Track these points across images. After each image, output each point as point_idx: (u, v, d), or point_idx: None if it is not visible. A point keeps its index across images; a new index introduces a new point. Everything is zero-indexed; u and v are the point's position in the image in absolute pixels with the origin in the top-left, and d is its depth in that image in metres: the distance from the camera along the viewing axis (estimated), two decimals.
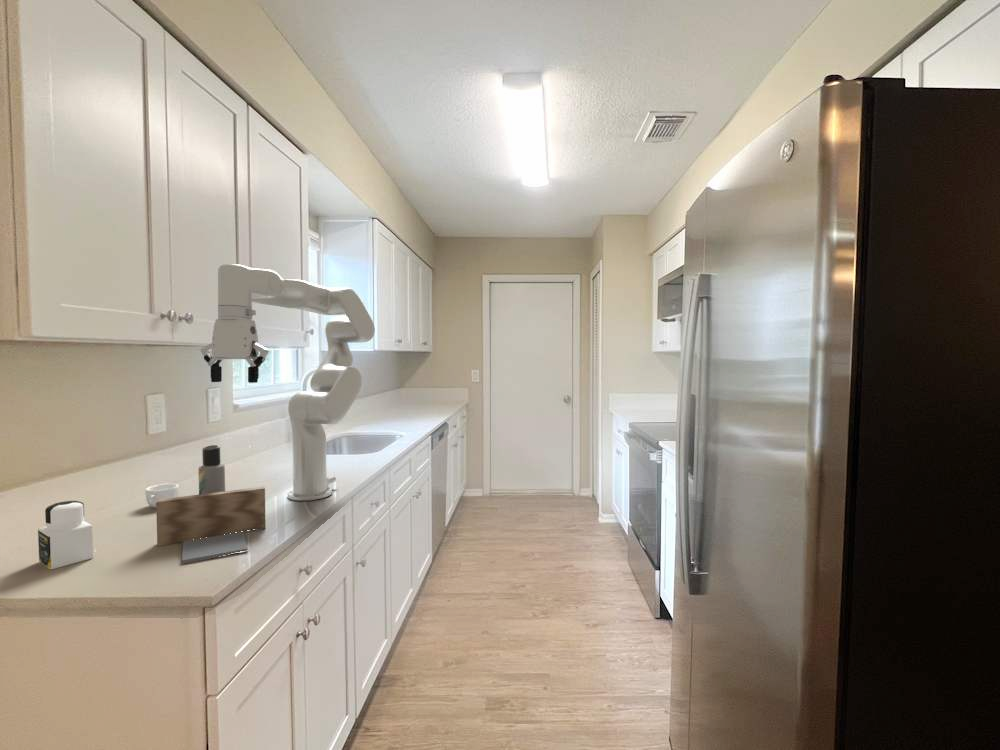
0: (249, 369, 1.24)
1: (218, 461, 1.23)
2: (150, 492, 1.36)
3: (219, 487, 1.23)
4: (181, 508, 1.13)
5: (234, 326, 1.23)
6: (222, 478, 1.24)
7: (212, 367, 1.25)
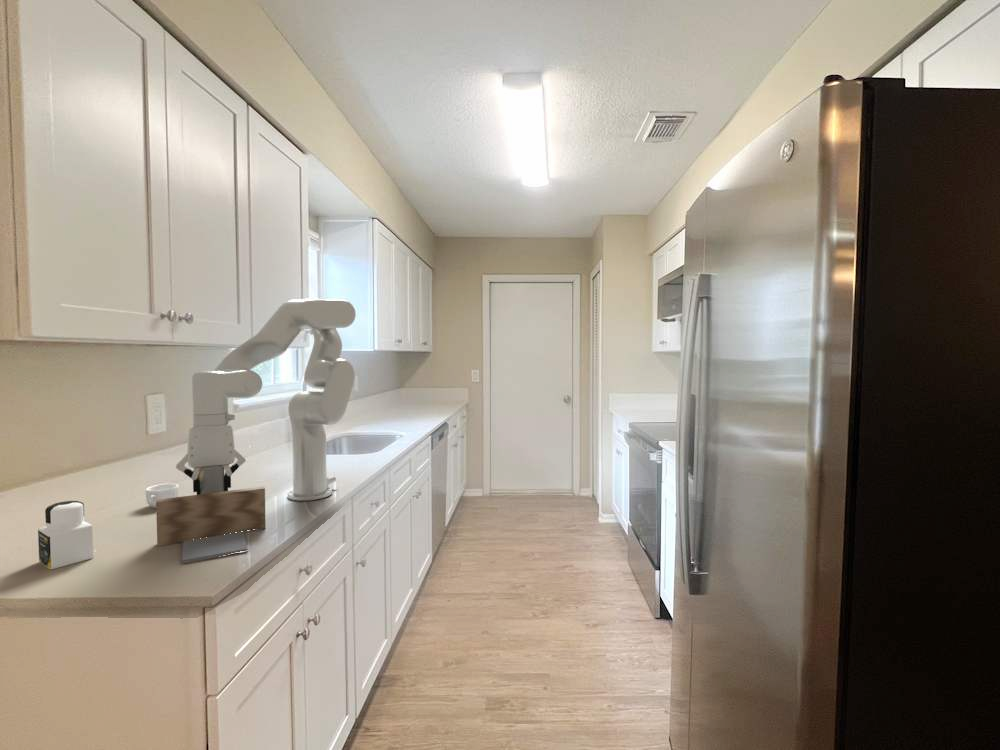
0: (226, 479, 1.24)
1: None
2: (150, 492, 1.36)
3: (218, 487, 1.23)
4: (181, 508, 1.13)
5: (218, 434, 1.22)
6: (221, 478, 1.23)
7: (197, 481, 1.21)
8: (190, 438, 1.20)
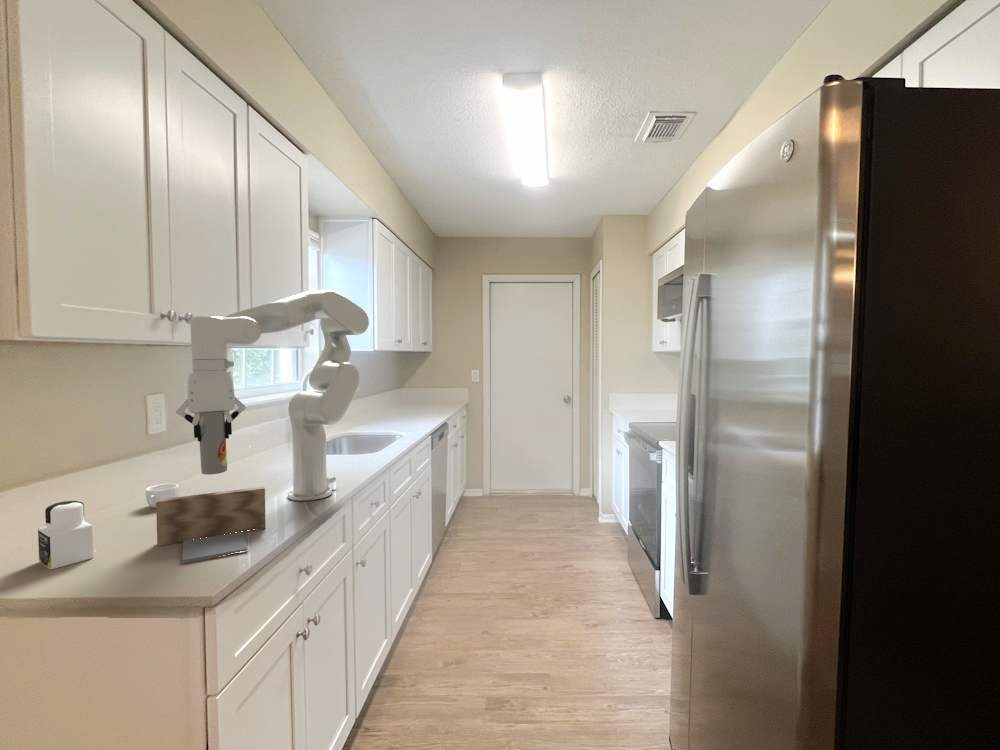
0: (227, 425, 1.24)
1: None
2: (150, 492, 1.36)
3: (219, 433, 1.23)
4: (181, 508, 1.13)
5: (218, 380, 1.22)
6: (222, 424, 1.23)
7: (198, 426, 1.21)
8: (190, 383, 1.19)
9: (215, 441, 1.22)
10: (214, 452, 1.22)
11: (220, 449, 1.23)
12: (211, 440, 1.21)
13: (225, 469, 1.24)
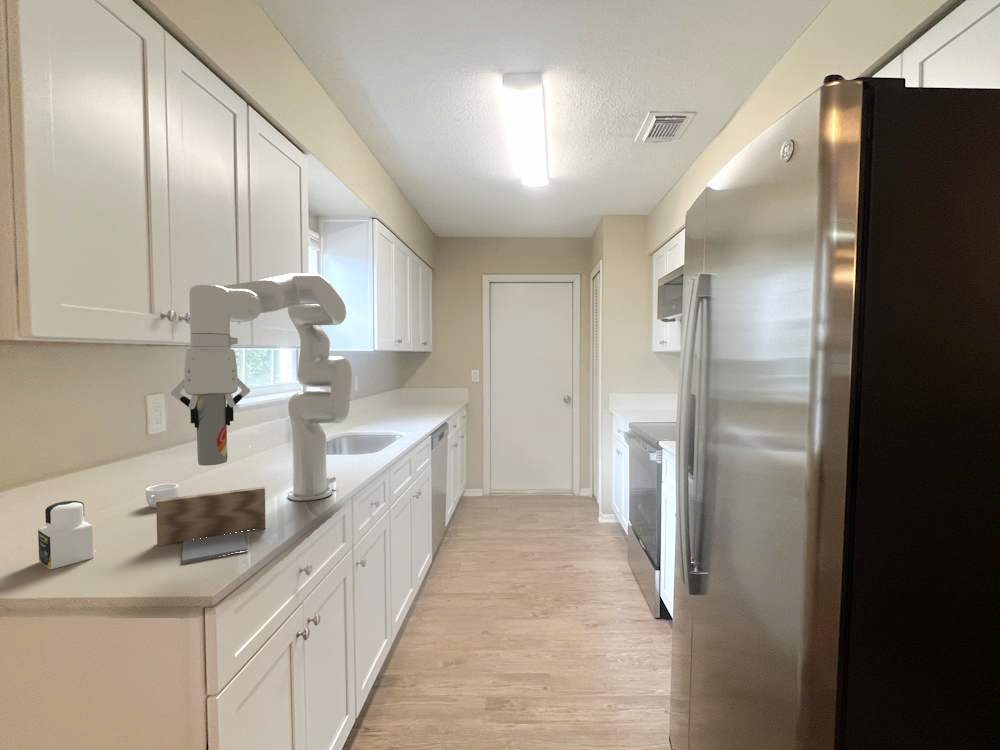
0: (228, 410, 1.09)
1: None
2: (150, 492, 1.36)
3: (219, 418, 1.08)
4: (181, 508, 1.13)
5: (219, 358, 1.07)
6: (223, 408, 1.08)
7: (195, 410, 1.06)
8: (187, 360, 1.05)
9: (214, 427, 1.07)
10: (213, 440, 1.07)
11: (220, 437, 1.08)
12: (210, 425, 1.06)
13: (225, 460, 1.09)
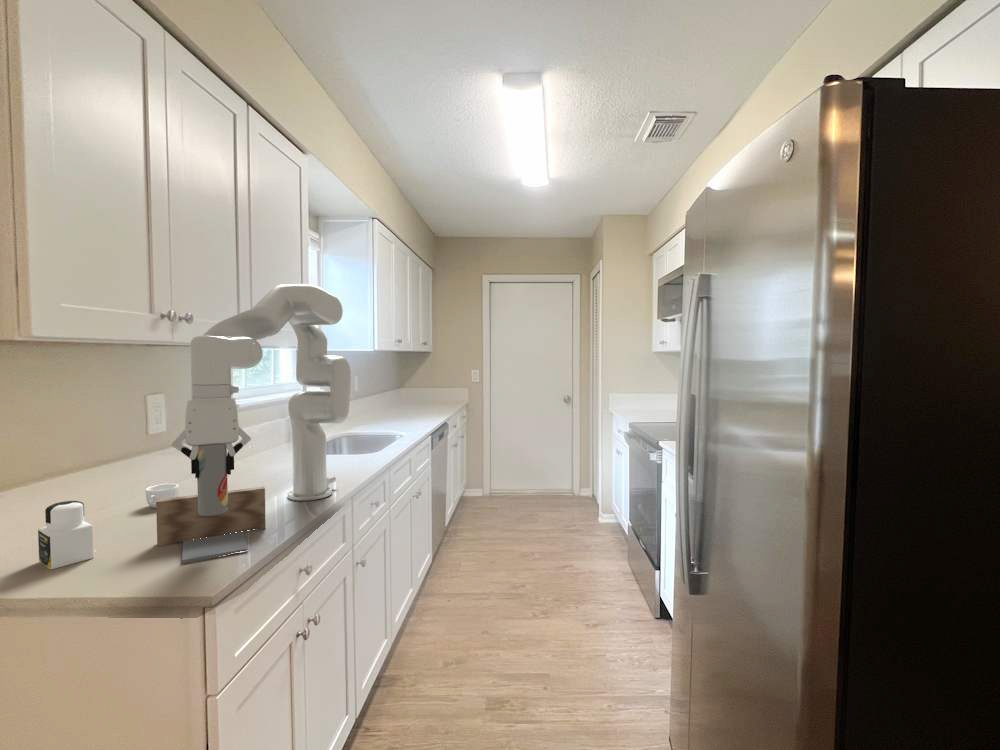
0: (229, 459, 1.09)
1: None
2: (150, 492, 1.36)
3: (220, 468, 1.08)
4: (181, 508, 1.13)
5: (220, 408, 1.07)
6: (223, 458, 1.09)
7: (196, 461, 1.06)
8: (188, 412, 1.05)
9: (215, 478, 1.07)
10: (213, 490, 1.07)
11: (220, 487, 1.08)
12: (210, 476, 1.06)
13: (225, 509, 1.09)
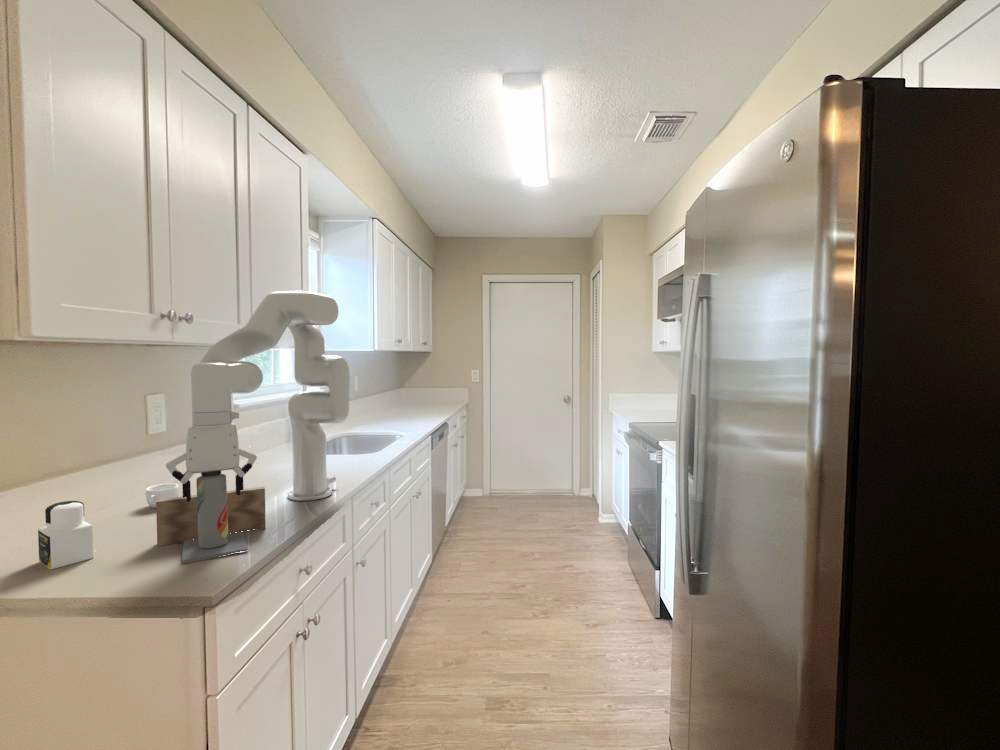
0: (238, 480, 1.10)
1: (218, 471, 1.09)
2: (150, 492, 1.36)
3: (220, 500, 1.08)
4: (181, 508, 1.13)
5: (221, 435, 1.08)
6: (223, 490, 1.09)
7: (188, 484, 1.05)
8: (189, 439, 1.05)
9: (215, 510, 1.08)
10: (213, 523, 1.07)
11: (220, 519, 1.08)
12: (210, 509, 1.07)
13: (226, 541, 1.10)
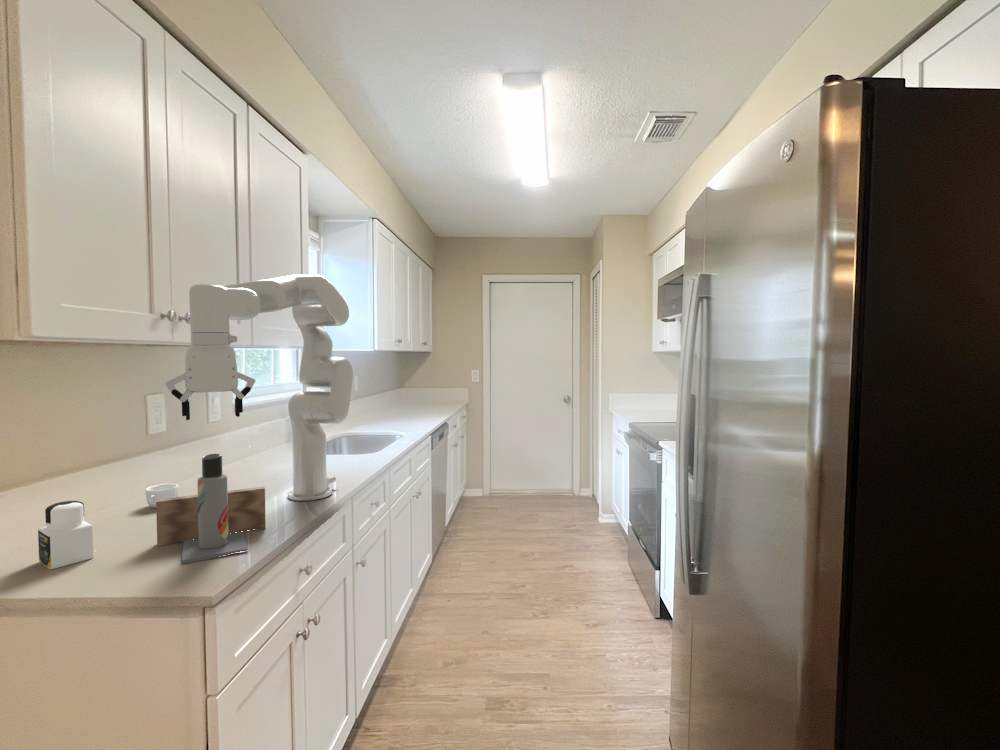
0: (237, 402, 1.13)
1: (219, 472, 1.09)
2: (150, 492, 1.36)
3: (220, 501, 1.08)
4: (181, 508, 1.13)
5: (219, 356, 1.09)
6: (224, 491, 1.09)
7: (187, 403, 1.07)
8: (188, 358, 1.07)
9: (215, 511, 1.07)
10: (214, 524, 1.07)
11: (221, 520, 1.08)
12: (211, 510, 1.07)
13: (226, 542, 1.10)
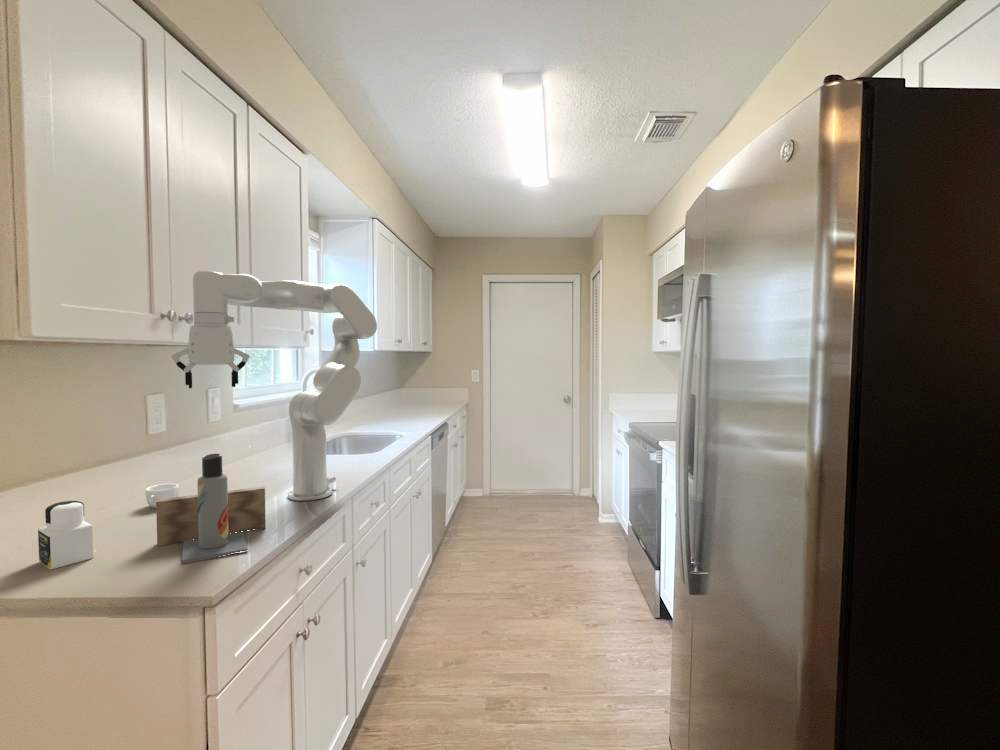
0: (234, 374, 1.29)
1: (220, 472, 1.09)
2: (150, 492, 1.36)
3: (220, 501, 1.08)
4: (181, 508, 1.13)
5: (218, 333, 1.26)
6: (224, 491, 1.09)
7: (190, 373, 1.24)
8: (191, 335, 1.24)
9: (215, 511, 1.07)
10: (214, 524, 1.07)
11: (221, 520, 1.08)
12: (211, 510, 1.07)
13: (226, 542, 1.10)
